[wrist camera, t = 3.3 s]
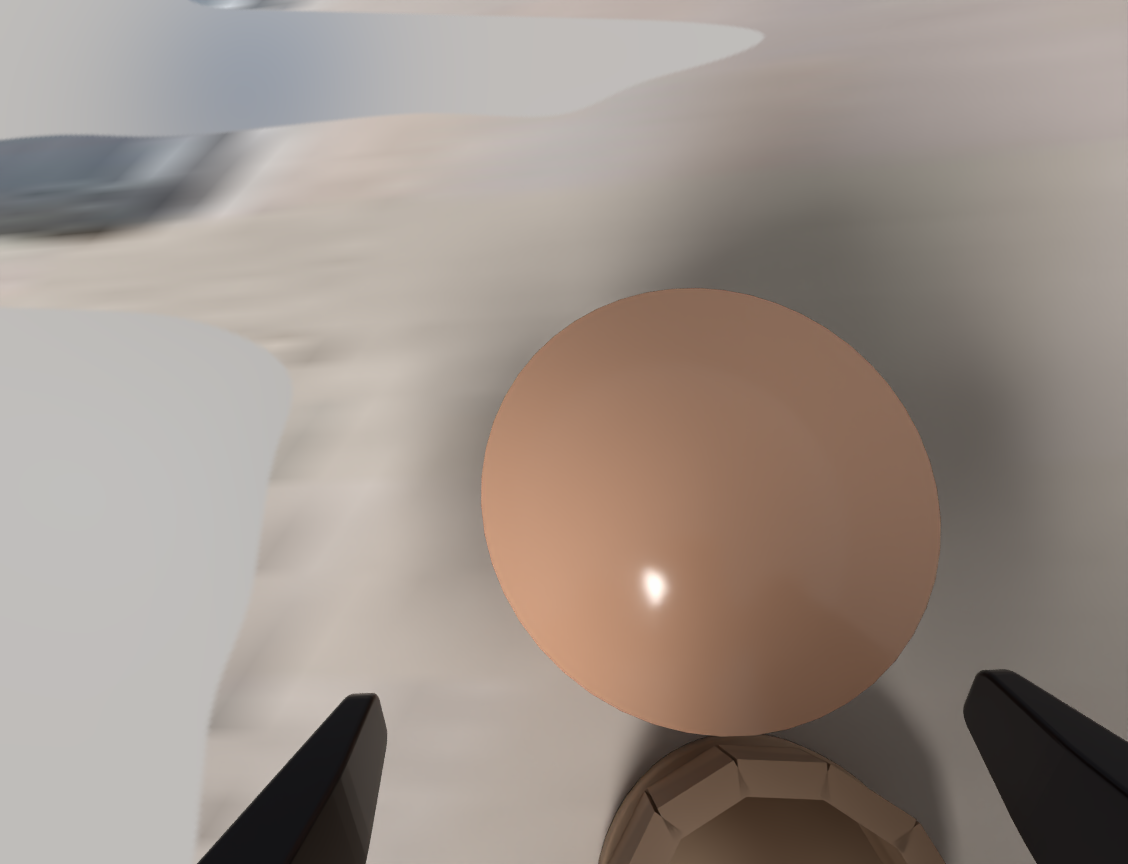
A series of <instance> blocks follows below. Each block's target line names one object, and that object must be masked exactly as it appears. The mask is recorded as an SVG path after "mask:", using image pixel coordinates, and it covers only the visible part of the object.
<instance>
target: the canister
mask: <svg viewBox="0 0 1128 864" xmlns="http://www.w3.org/2000/svg"><path fill="white" fill-rule="evenodd" d="M481 507H482V515H483V524H484V532H485V537H486V541H487V545H488V549H489V553H490V557H491V561H492V565H493V567H494V570H495V572H496V575H497V577H498V580H499V582H500V584H501V587H502V589H503V592H504V594H505V596H506V598H507V599H508V601H509V603H510V605H511V607H512V608H513V610H514V612H515V614H516V615H517V617H518V619H519V621H520V622H521V624H522V625H523V626H524V628H525V629H526V630H527V632H528V633H529V634H530V636H531V637H532V638H533V640H534V641H535V642H536V644H537V645H538V646H539V648H540V649H541V650H542V651H543V652H544V653H545V654H546V655H547V656H548V657H549V658H550V659H551V660H552V661H553V662H554V663H555V664H556V665H557V666H558V667H559V668H560V669H561V670H562V671H563V672H564V673H565V674H567V675H568V676H569V677H570V678H572V679H573V680H574V681H576V682H577V683H578V684H579V685H581V686H582V687H583V688H585V689H586V690H587V691H588V692H590V693H591V694H593V695H594V696H596V697H598V698H600V699H601V700H603V701H605V702H606V703H608V704H610V705H612V706H613V707H615V708H617V709H619V710H620V711H622V712H625V713H627V714H630V715H632V716H635V717H637V718H639V719H642V720H644V721H647V722H649V723H652V724H655V725H658V726H662V727H666V728H670V729H674V730H678V731H682V732H686V733H693V734H702V735H711V736H720V737H722V736H751V735H760V734H765V733H770V732H776V731H781V730H787V729H790V728H793V727H796V726H799V725H802V724H804V723H807V722H810V721H813V720H816V719H819V718H821V717H823V716H825V715H826V714H828V713H830V712H832V711H834V710H836V709H838V708H840V707H841V706H843V705H845V704H847V703H849V702H850V701H851V700H853V699H854V698H855V697H857V696H858V695H859V694H860V693H862V692H863V691H864V690H866V689H867V688H868V687H870V686H871V685H872V684H874V683H875V682H876V681H877V679H878V678H879V677H880V676H881V675H882V674H883V673H884V672H885V671H886V670H887V669H888V668H889V667H890V666H891V665H892V664H893V663H894V662H895V661H896V659H897V658H898V656H899V655H900V653H901V652H902V651H903V649H904V648H905V646H906V645H907V643H908V642H909V641H910V639H911V638H912V636H913V634H914V632H915V630H916V628H917V626H918V624H919V622H920V620H921V618H922V616H923V614H924V612H925V610H926V608H927V605H928V601H929V598H930V595H931V592H932V589H933V585H934V582H935V579H936V573H937V566H938V560H939V554H940V532H941V517H940V509H939V501H938V493H937V487H936V483H935V479H934V475H933V471H932V468H931V464H930V460H929V458H928V455H927V453H926V450H925V447H924V445H923V442H922V440H921V437H920V435H919V433H918V431H917V429H916V427H915V425H914V423H913V422H912V420H911V418H910V416H909V414H908V412H907V410H906V409H905V407H904V406H903V404H902V403H901V401H900V400H899V399H898V397H897V396H896V394H895V393H894V391H893V390H892V389H891V387H890V386H889V384H888V383H887V382H886V381H885V380H884V379H883V378H882V376H881V375H880V374H879V373H878V372H877V371H876V370H875V369H874V367H873V366H872V365H871V364H870V363H869V362H868V361H867V360H866V359H865V358H863V357H862V356H861V355H860V354H859V353H858V352H857V351H856V350H855V349H853V348H852V347H851V346H850V345H849V344H848V343H846V342H845V341H844V340H842V339H841V338H839V337H838V336H837V335H835V334H834V333H832V332H831V331H830V330H828V329H827V328H825V327H824V326H822V325H820V324H818V323H817V322H815V321H813V320H811V319H809V318H808V317H806V316H804V315H802V314H800V313H798V312H796V311H793V310H791V309H789V308H786V307H784V306H782V305H779V304H777V303H774V302H771V301H768V300H765V299H761V298H758V297H755V296H751V295H747V294H742V293H737V292H731V291H726V290H717V289H704V288H682V289H667V290H660V291H653V292H647V293H643V294H639V295H635V296H631V297H628V298H624V299H620V300H618V301H615V302H613V303H611V304H608V305H606V306H603V307H601V308H598V309H596V310H594V311H592V312H591V313H589V314H587V315H585V316H583V317H582V318H580V319H578V320H576V321H574V322H573V323H572V324H570V325H569V326H567V327H566V328H565V329H563V330H562V331H561V332H559V333H558V334H556V335H555V336H554V337H553V338H552V339H551V340H550V341H548V342H547V343H546V344H545V345H544V346H543V347H542V348H541V349H540V350H539V351H538V352H537V353H536V354H535V355H534V356H533V357H532V359H531V360H530V361H529V362H528V363H527V365H526V366H525V367H524V368H523V370H522V371H521V372H520V373H519V374H518V376H517V378H516V379H515V381H514V383H513V384H512V386H511V387H510V389H509V391H508V392H507V394H506V396H505V397H504V400H503V402H502V404H501V406H500V409H499V411H498V413H497V415H496V418H495V420H494V422H493V426H492V429H491V432H490V436H489V439H488V443H487V446H486V451H485V458H484V464H483V471H482V490H481Z"/></svg>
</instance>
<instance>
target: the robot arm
mask: <svg viewBox="0 0 1128 864" xmlns="http://www.w3.org/2000/svg"><path fill="white" fill-rule="evenodd" d="M963 713H964V719H965V722H966V725H967V727H968V729H969V731H970V733H971V735H972V737H973V739H974V741H975V744H976V746H977V748H978V750H979V752H980V754H981V756H982V758H983V760H984V762H985V764H986V766H987V768H988V770H989V772H990V775H991V777H992V779H993V781H994V783H995V785H996V787H997V789H998V791H999V793H1000V795H1001V797H1002V799H1003V801H1004V804H1005V806H1006V808H1007V810H1008V812H1009V814H1010V816H1011V818H1012V820H1013V822H1014V824H1015V826H1016V827H1017V829H1018V831H1019V833H1020V835H1021V837H1022V839H1023V840H1024V842H1025V844H1026V846H1027V847H1028V849H1029V851H1030V853H1031V855H1032V856H1033V858H1034V860H1035V861H1036V863H1037V864H1128V742H1127V741H1125V740H1123V739H1122V738H1120V737H1119V736H1117V735H1115V734H1114V733H1112V732H1111V731H1109V730H1107V729H1106V728H1104V727H1103V726H1101V725H1099V724H1098V723H1096V722H1094V721H1093V720H1091V719H1090V718H1088V717H1086V716H1085V715H1083V714H1082V713H1080V712H1078V711H1077V710H1075V709H1073V708H1072V707H1070V706H1069V705H1067V704H1065V703H1064V702H1062V701H1061V700H1059V699H1057V698H1056V697H1054V696H1053V695H1051V694H1049V693H1048V692H1046V691H1044V690H1043V689H1041V688H1040V687H1038V686H1036V685H1035V684H1033V683H1032V682H1030V681H1028V680H1027V679H1025V678H1023V677H1022V676H1020V675H1019V674H1017V673H1015V672H1013V671H1010V670H1005V669H997V670H982V671H980V672H979V673H977V675H976V676H975V679H974V681H973V684H972V686H971V689H970V691H969V694H968V696H967V699H966V701H965V704H964V708H963ZM386 746H387V728H386V724H385V720H384V716H383V712H382V708H381V704H380V700H379V697H378V696H377V695H376V694H375V693H360V694H351V695H349V696H347V697H346V698H345V699H344V700H343V701H342V702H341V703H340V704H339V705H338V707H337V708H336V709H335V710H334V711H333V712H332V713H331V714H330V716H329V717H328V718H327V719H326V720H325V721H324V722H323V723H322V725H321V726H320V727H319V728H318V729H317V730H316V731H315V732H314V733H313V735H312V736H311V737H310V738H309V739H308V740H307V741H306V742H305V744H304V745H303V746H302V747H301V748H300V749H299V750H298V751H297V752H296V754H295V755H294V756H293V757H292V758H291V759H290V760H289V761H288V763H287V764H286V765H285V766H284V767H283V768H282V769H281V770H280V772H279V773H278V774H277V775H276V776H275V777H274V778H273V779H272V780H271V782H270V783H269V784H268V785H267V786H266V787H265V788H264V789H263V791H262V792H261V793H260V794H259V795H258V796H257V797H256V798H255V799H254V801H253V802H252V803H251V804H250V805H249V806H248V807H247V808H246V810H245V811H244V812H243V813H242V814H241V815H240V816H239V817H238V819H237V820H236V821H235V822H234V823H233V824H232V825H231V826H230V827H229V829H228V830H227V831H226V832H225V833H224V834H223V835H222V836H221V838H220V839H219V840H218V841H217V842H216V843H215V844H214V845H213V846H212V848H211V849H210V850H209V851H208V852H207V853H206V854H205V855H204V857H203V858H202V859H201V860H200V861H199V862H198V863H197V864H366V860H367V854H368V849H369V844H370V839H371V833H372V827H373V821H374V815H375V810H376V804H377V798H378V792H379V787H380V781H381V775H382V769H383V763H384V758H385V752H386Z"/></svg>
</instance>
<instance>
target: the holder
mask: <svg viewBox="0 0 1128 864" xmlns="http://www.w3.org/2000/svg"><path fill="white" fill-rule="evenodd" d="M598 864H946V863H945V862H944V860H943V858H942V857H941V855H940V854H939V852H938V851H937V849H936V847H935V846H934V844H933V843H932V841H931V840H930V838H929V836H928V835H927V833H926V832H925V830H924V829H923V827H922V825H921V824H920V823H919V822H917V821H916V819H915V818H914V817H912V816H910V815H909V814H907V813H906V812H904V811H903V810H901V809H900V808H898V807H897V806H895V805H893V804H892V803H890V802H889V801H887V800H886V799H884V798H883V797H881V796H879V795H878V794H876V793H875V792H873V791H872V790H870V789H869V788H867V787H866V786H865V785H864V784H863V783H862V782H861V781H860V780H859V779H857V778H856V777H855V776H853V775H852V774H850V773H849V772H848V771H846V770H845V769H844V768H842V767H841V766H839V765H838V764H836V763H834V762H832V761H830V760H829V759H827V758H825V757H823V756H822V755H820V754H818V753H816V752H814V751H811V750H809V749H807V748H805V747H803V746H800V745H798V744H795V743H793V742H790V741H788V740H785V739H781V738H777V737H773V736H769V735H765V734H760V735H751V736H722V737H720V736H708V737H705V738H702V739H699V740H696V741H693V742H690V743H688V744H686V745H684V746H682V747H680V748H678V749H676V750H675V751H673V752H671V753H669V754H668V755H667V756H665V757H664V758H663V759H661V760H660V761H658V762H657V763H656V764H654V765H653V766H652V767H651V768H650V769H649V770H648V771H647V772H646V773H645V774H644V775H643V776H642V777H641V778H640V779H639V780H638V782H637V783H636V784H635V786H634V787H633V788H632V789H631V791H630V792H629V793H628V794H627V796H626V797H625V799H624V801H623V803H622V804H621V806H620V808H619V809H618V811H617V813H616V814H615V817H614V819H613V821H612V823H611V826H610V828H609V830H608V833H607V835H606V838H605V841H604V844H603V848H602V851H601V855H600V858H599V863H598Z"/></svg>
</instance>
